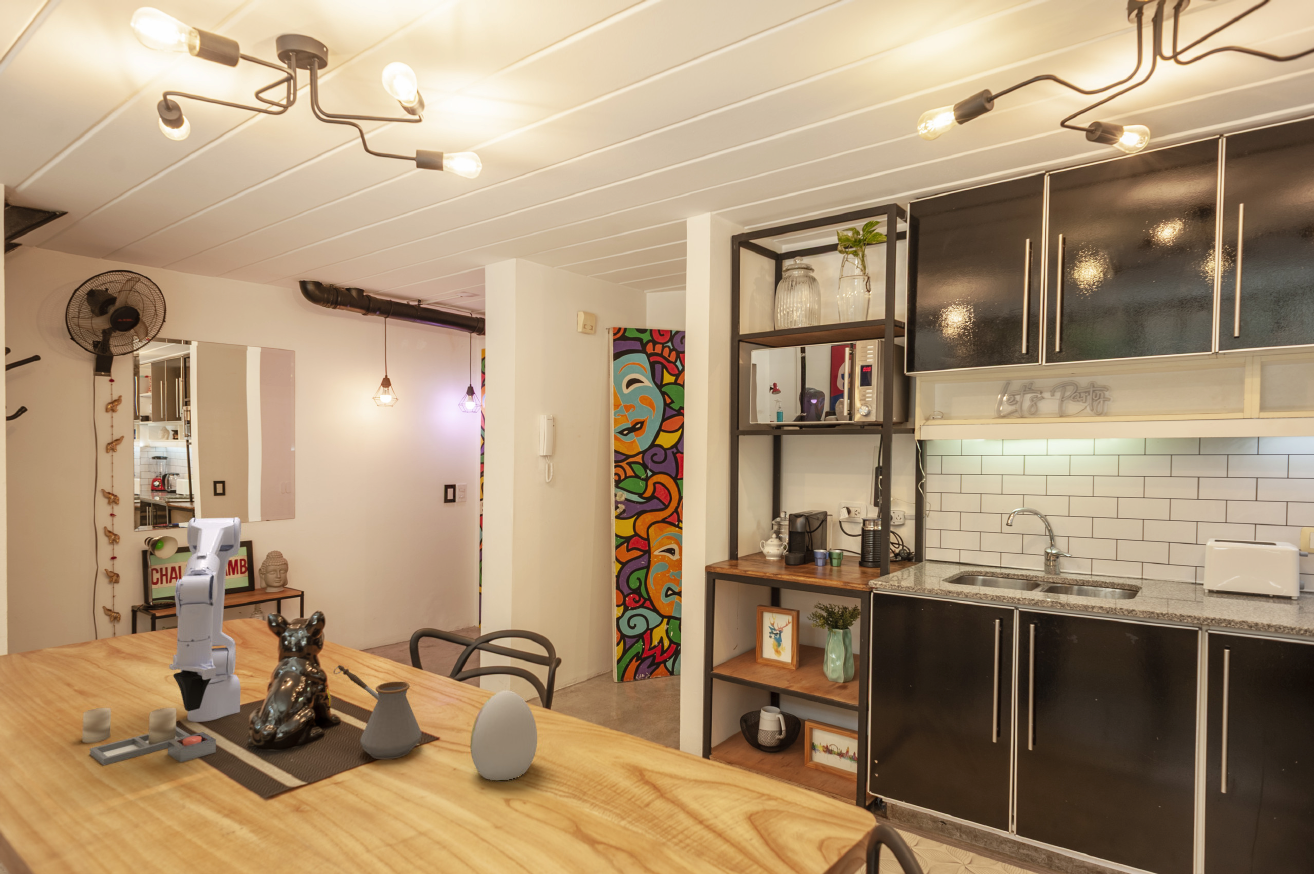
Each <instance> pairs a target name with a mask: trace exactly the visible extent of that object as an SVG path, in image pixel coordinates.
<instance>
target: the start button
mask: <svg viewBox="0 0 1314 874" xmlns="http://www.w3.org/2000/svg"><path fill="white" fill-rule="evenodd" d="M201 738H202V737H201V736H191V737H187V738H185V739H183V746H188V745H191V744H195V743H199V742H201Z"/></svg>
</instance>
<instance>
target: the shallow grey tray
mask: <svg viewBox="0 0 1314 874" xmlns="http://www.w3.org/2000/svg"><path fill="white" fill-rule="evenodd" d="M189 735H191V734H189V733H188V732H186V731H184V730H183V729H181V728H180V727H178V726H176V735H175V739H178V738H182V737H186V736H189ZM175 739H172V740H175ZM168 741H171V740H168ZM168 741H164V742H161V743H157V744H153V745H149V744H148V743H149V733H145V734H141V735H138V736H133V737H129V738H126V739H122V740H118V741H115V742H110V743H106V744H102V745H98V746H95V747H90V748H89V756H91V757H93V759H95V760H96V761H97V762H98V763H100V764H101V765H103V766H107V765H111V764H114V763H117V762H122V761H126V760H128V759H132V758H136V757H140V756H143V755H147V754H151V753H155V752H158V751H162V750H166V749H168Z"/></svg>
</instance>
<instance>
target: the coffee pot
mask: <svg viewBox="0 0 1314 874" xmlns="http://www.w3.org/2000/svg"><path fill="white" fill-rule="evenodd" d="M337 669H338V670H339V671H338V672H337V673H336V672H335V671H336V670H337ZM341 672H342V673H343V675H344V676H347V677H348V679H349V680H350V681H351V682H353V683H354V684H356V685H357V686H359V688H362V689H363V690H365V691H367V693H369V694H370V695H371V696H372V697H373V698H374V699H375V700H377V701H376V703H375V705H374V707H373V710H372V712H371V714H370V717H369V719H368V720H367V724H366V726H365V728H364V730H363V732H362V735H361V737H360V739H359V742H360V745H361V748H362V749H363V750H364V751H365V752H366V753H367V754H369V755H370V757H372V758H374V759H377V760H393V759H398V758H402V757H404V756H406V755H408V754H409V753H410V752H411V751H412V750H413V749H414V748H415V747H416V746H417V745H418V743H419V742H420V740H421V738H422V730H421V728H420V726H419V723H418V722H417V718H416V716H415V714H414V712H413V710H412V707H411V705H410V702H409V700H408V697H407V693H408V690H409V689H410V687H411V685H410V684H409V682H406V681H390V682H384V683H380V684H378V685H376V687H375V691H374V690H373V689H372V688H370V687H369V686H368V685H367V684H366V683H365V682H364V681H363V680H362V679H360V677H359V676H357V675H356V674H355V673H352V672H351V671H349V669H348V668H345V666H343V665H341V664H338V665H337V667H336V668H334V670H333V674H335V675H338V674H340V673H341Z"/></svg>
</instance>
